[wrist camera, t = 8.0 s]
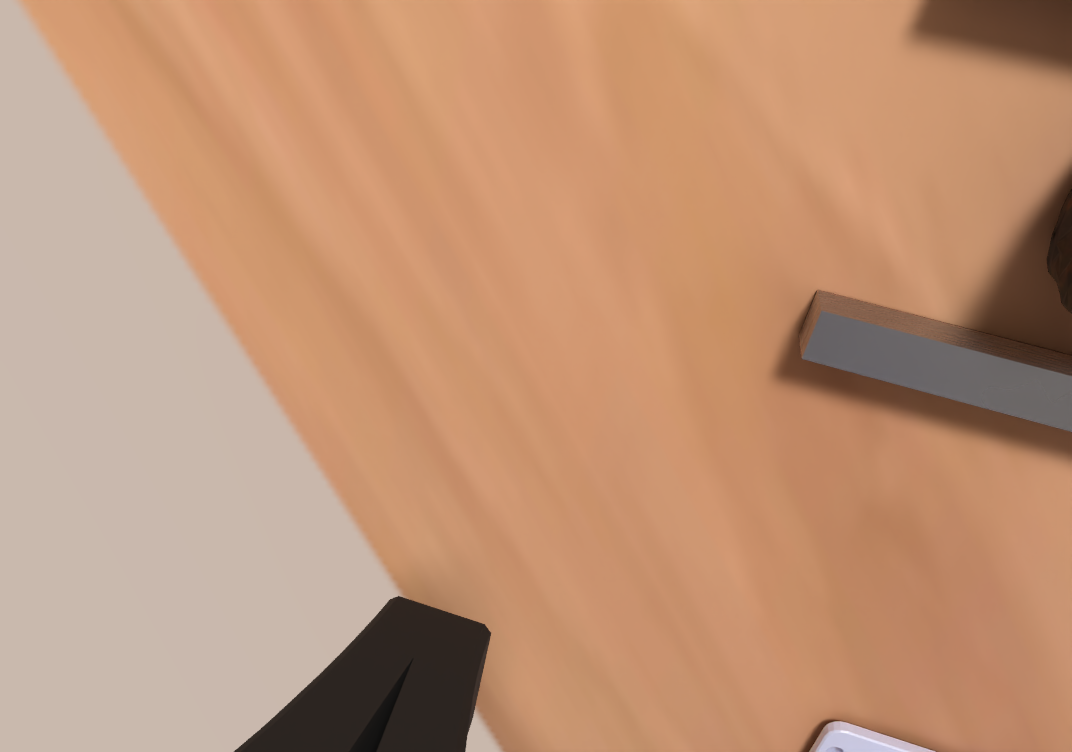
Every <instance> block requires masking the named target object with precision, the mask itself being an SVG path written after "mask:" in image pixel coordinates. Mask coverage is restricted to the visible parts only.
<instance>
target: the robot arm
mask: <svg viewBox="0 0 1072 752" xmlns="http://www.w3.org/2000/svg"><path fill="white" fill-rule="evenodd" d="M490 636H491V632H490V631H489V630H488V628H487V627H486V626H485V624H482V623H479V622H476V621H473V620H470V619H467V618H464V617H461V616H457V615H454V614H451V613H448V612H445V611H442V610H439V609H436V608H433V607H430V606H427V605H424V604H421V603H418V602H415V601H412V600H409V599H406V598H403V597H400V596H398V597H395V598H393V599H390V600H389V601H388V603H387V604H386V605H385V606H384V607H383V609H382V610H381V611H380V612H379V613H378V614H377V615H376V617H375V618H374V619H373V620H372V621H371V622H370V623H369V624H368V625H367V626H366V627H365V629H364V630H363V631H362V632H361V633H360V634H359V635H358V636H357V637H356V638H355V639H354V640H353V641H352V642H351V643H350V644H349V646H348V647H347V648H346V649H345V650H344V651H343V652H342V653H341V654H340V655H339V656H338V657H337V658H336V659H335V660H334V661H333V662H332V663H331V664H330V665H329V666H328V667H327V668H326V669H325V670H324V671H323V672H322V673H321V674H320V675H319V676H318V677H316V678H315V679H314V680H313V681H312V682H311V683H310V684H309V685H308V686H307V687H306V688H305V689H304V690H303V691H301V692H300V693H299V694H298V695H297V696H296V697H295V698H294V699H293V700H292V701H291V702H290V703H289V704H288V705H287V706H285V707H284V709H282V710H281V711H280V712H279V713H278V714H277V715H276V716H275V717H274V718H272V719H271V720H270V721H269V722H268V723H267V724H266V725H265V726H264V727H262V728H261V729H260V730H259V731H258V732H257V733H255V734H254V735H253V736H252V737H251V738H249V739H248V740H247V741H246V742H245V743H244V744H242V745H241V746H240V747H239V748H238V749H236V750H235V751H234V752H465V748H466V740H467V734H468V731H469V728H470V725H471V722H472V718H473V714H474V710H475V705H476V700H477V696H478V691H479V687H480V682H481V677H482V673H483V668H484V664H485V659H486V654H487V650H488V645H489V640H490ZM809 752H936V751H933V750H929V749H926V748H923V747H920V746H917V745H914V744H911V743H908V742H905V741H902V740H899V739H896V738H893V737H890V736H886V735H883V734H880V733H877V732H874V731H871V730H868V729H865V728H862V727H859V726H856V725H853V724H850V723H847V722H842V721H834V722H831V723H828V724H827V725H826V726H825V727H824V728H823V730H822V731H821V733H820V735H819V736H818V738H817V740H816V741H815V743H814V744H813V746H812V748H811V749H810V751H809Z"/></svg>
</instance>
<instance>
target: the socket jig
mask: <svg viewBox="0 0 1072 752" xmlns="http://www.w3.org/2000/svg"><path fill="white" fill-rule="evenodd" d="M799 342H800V350H801V358H802V359H804V360H808V361H811V362H815V363H819V364H822V365H826V366H830V367H834V368H837V369H841V370H845V371H848V372H852V373H856V374H859V375H863V376H867V377H871V378H874V379H878V380H882V381H885V382H889V383H893V384H896V385H900V386H904V387H908V388H911V389H915V390H919V391H922V392H926V393H930V394H933V395H937V396H941V397H944V398H948V399H952V400H956V401H959V402H963V403H967V404H970V405H974V406H978V407H981V408H985V409H989V410H993V411H996V412H1000V413H1004V414H1007V415H1011V416H1015V417H1018V418H1022V419H1026V420H1030V421H1033V422H1037V423H1041V424H1044V425H1048V426H1052V427H1055V428H1059V429H1063V430H1067V431H1070V432H1072V355H1068V354H1064V353H1060V352H1056V351H1052V350H1048V349H1044V348H1041V347H1037V346H1033V345H1029V344H1025V343H1021V342H1017V341H1014V340H1010V339H1006V338H1002V337H998V336H994V335H990V334H987V333H983V332H979V331H975V330H971V329H967V328H963V327H959V326H956V325H952V324H948V323H944V322H940V321H936V320H932V319H929V318H925V317H921V316H917V315H913V314H909V313H905V312H901V311H898V310H894V309H890V308H886V307H882V306H878V305H874V304H871V303H867V302H863V301H859V300H855V299H851V298H847V297H844V296H840V295H836V294H832V293H828V292H824V291H820V290H817V292H816V295H815V297H814V300H813V302H812V304H811V307H810V309H809V312H808V314H807V317H806V319H805V322H804V324H803V327H802V329H801V332H800V334H799Z"/></svg>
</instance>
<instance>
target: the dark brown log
mask: <svg viewBox="0 0 1072 752" xmlns="http://www.w3.org/2000/svg"><path fill="white" fill-rule="evenodd" d="M1047 266H1048V272H1049V273H1050V275H1051V276H1052V277H1053V279H1054V280H1055V281H1056V283H1057V285H1058V288H1059V292H1060V296H1061V303H1062V304H1063V305H1064V307H1065V308H1066V309H1067V310H1068V311H1069V312H1071V313H1072V190H1071V191H1070V193H1069V195H1068V197H1067V199H1066V201H1065V203H1064V205H1063V207H1062V210H1061V213H1060V216H1059V219H1058V222H1057V225H1056V227H1055V229H1054V231H1053V233H1052V238H1051V243H1050V248H1049V252H1048V256H1047Z"/></svg>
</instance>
